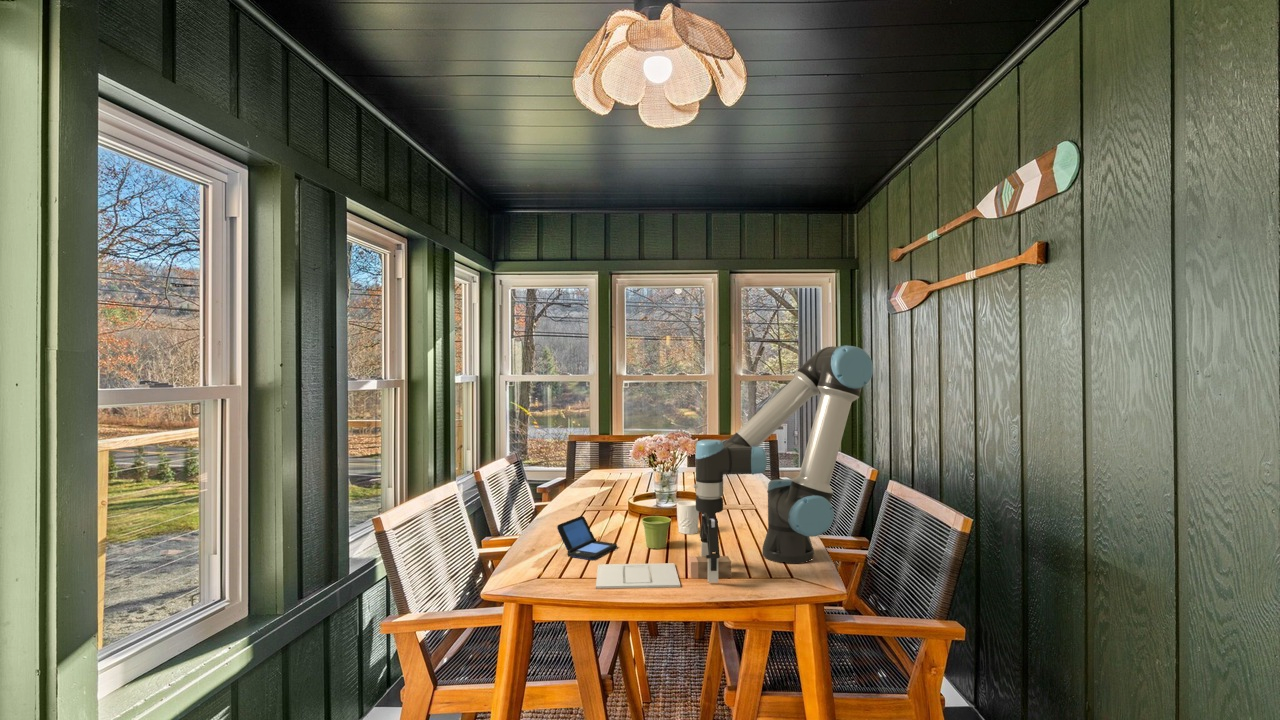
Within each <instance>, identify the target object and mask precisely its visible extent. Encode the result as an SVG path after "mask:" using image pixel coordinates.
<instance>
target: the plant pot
mask: <svg viewBox="0 0 1280 720" xmlns="http://www.w3.org/2000/svg"><path fill="white" fill-rule="evenodd" d="M641 522H642V524H643V529H644V535H645V542H646V543H645V544H646V547H647V548H649V549H656V550H660V549H664V548H666V546H667V540H668V531H669V527H670V523H671V522H672V518H670V517H667V516H663V515H662V516H660V515H649V516H644V517H642V518H641Z"/></svg>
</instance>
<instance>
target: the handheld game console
mask: <svg viewBox="0 0 1280 720" xmlns="http://www.w3.org/2000/svg"><path fill="white" fill-rule="evenodd" d="M556 529H557V532H558V534H559V537H561V540H562V542H563V545H564V546H565V548H566V550H567V557H569V556H571V557H570V558H576V559H583V560H588V559H589V560H588V561H594V560H596V559H598V558H600V557H602V556H605V555H606V554H608V553H611V551H613V550H615V549H617V548H618V545H617V543H613V542H608V541H607V542H606V541H599V540H597V538H595V536H594V534H593V532H592V530H591V527H590V526H589V523H588V521H587V520H586V517H584V516H583V515H580V516H578V517H575V518H572V519H570V520H568V521H564V522H562V523H560V524H558V525H557V526H556Z"/></svg>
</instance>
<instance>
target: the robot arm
mask: <svg viewBox="0 0 1280 720" xmlns="http://www.w3.org/2000/svg"><path fill="white" fill-rule="evenodd" d="M873 373H874V364H873V360H872V358H871V357H870V355H869V354H868V353H867V351H865V350H864V349H862V348H861V347H858V346H853V345H848V344H846V345H838V346H837V345H836V346H827V347H824V348H821V349H820V350H818V351H817V352H815V353H814V354H813V355H812V356H811V357H810V358H809V359H808V360H806V361H805V362H804V364H803V365H802V366H800V367H799V368H798V369H797V370H796V371H795V372H794V378H793V379H792V380H791V381H789V383H786V385H785V386H784V387H783V388H782V389H781V390H780V391H779V392H778V393H777V394H775V396H773V397H772V398H771V399H770V400H769V401H768V402H767V403H766V404H765V405H764V406H762V408H760V410H758V411H757V413H755V414H754V415H753V416H752V417H750V419H749V420H748V421H747V422H746V423H745V424H744V425H743V426H742V427H740V428H739V429H738V430H737V431H736V432H735V433H734V434H733V435H731V436H730V438H727V439H724V440H721V439H700V440H698V441H696V444H695V445H696V446H695V456H694V457H695V458H694V459H695V484H693V488H695V495H696V496H695V501H696V510H697V511H698V512H699V513H701V517H700V519H701V520H700V533H699V537H700V542H701V543H700V556H706V558H708V578H707V583H710V584H712V583H719V578H718V558H720V556H721V554H720V541H719V530H718V529H719V528H718V527H719V526H718V524H719V521H718V518H717V516H716V514H717V513H721V512H723V510H724V498H723V496H724V475H753V476H754V475H757V474H763V473H764V472H765V471H766V469H767V464H768V462H767V459H768V458H767V454H766V453H767V452H766V450H765V449H764V448H763V447H761V445H762V444H763V443H764V442H765V441H766V440H767V439H768V438H769V437H771V435H773V433H775V432H776V431H777V430H778V429H780V427H781V426H782V425H783V424H785V422H787V420H788V419H789V418H790V417H792V416H793V415H794V414H795V413H796V412H797V411H798V410H799V409H800V408H802V406H804V404H806V403H807V402H808V401H809V400H810V399H811V398H812V397H813V396H820V397H819V400H818V404H817V408H816V412H815V416H814V420H813V421H812V422H813V424H812V427H811V430H810V434H809V437H808V441H807V445H806V448H805V453H804V455H803V456H804V457H803V458H802V459H803V460H802V464H801V468H800V471H799V473H798V476H796V477H794V478H791V479H790V478H789V479H787V478H786V479H781V478H780V479H772V480H769V482H768V484H767V531H766V536H765V538H764V541H763V544H762V551H761V552H762V553H761V555H762V556H763V557H764V558H765V559H768V560H769V559H770V561H772V560H773V561H774V562H776V561H777V563H782V562H785V563H784V564H801V563H800V562H804V563H807V562H806V561H808V562H810V561H809V560H811V559H813V560H814V557H815V551H814V546H813V543H812V541H811V538H812V537H818V536H820V535H823V534H825V533H826V532H827V531H828V530H830V528H831V526H832V524H833V522H834V518H835V512H834V508H833V505H832V503H831V502H832V498H833V495H834V490H833V489H832V487H831V485H830V484H831V480H832V476H833V472H834V469H835V466H836V461H837V457H838V454H839V450H840V447H841V443H842V440H843V436H844V431H845V428H846V425H847V420H848V418H849V417H848V416H849V413H850V410H851V407H852V406H851V405H852V403H853V402H855V401H857V400H858V399H859V398H860V395H861V391H862V388H863V387H864V386H866V385H867V384H868V383H869V382H870V381H871V380H872V378H873ZM810 537H811V538H810ZM811 561H812V560H811Z"/></svg>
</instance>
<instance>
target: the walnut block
mask: <svg viewBox="0 0 1280 720" xmlns="http://www.w3.org/2000/svg"><path fill="white" fill-rule="evenodd" d="M689 574H690V575H689ZM688 575H689V577H691V578H690V580H693V579H699V580H701V579H708V558H706V556H701V555H699V556H697V555H696V556H688ZM718 579H732V560H731V559H730V556H728V555H720V558H718Z"/></svg>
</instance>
